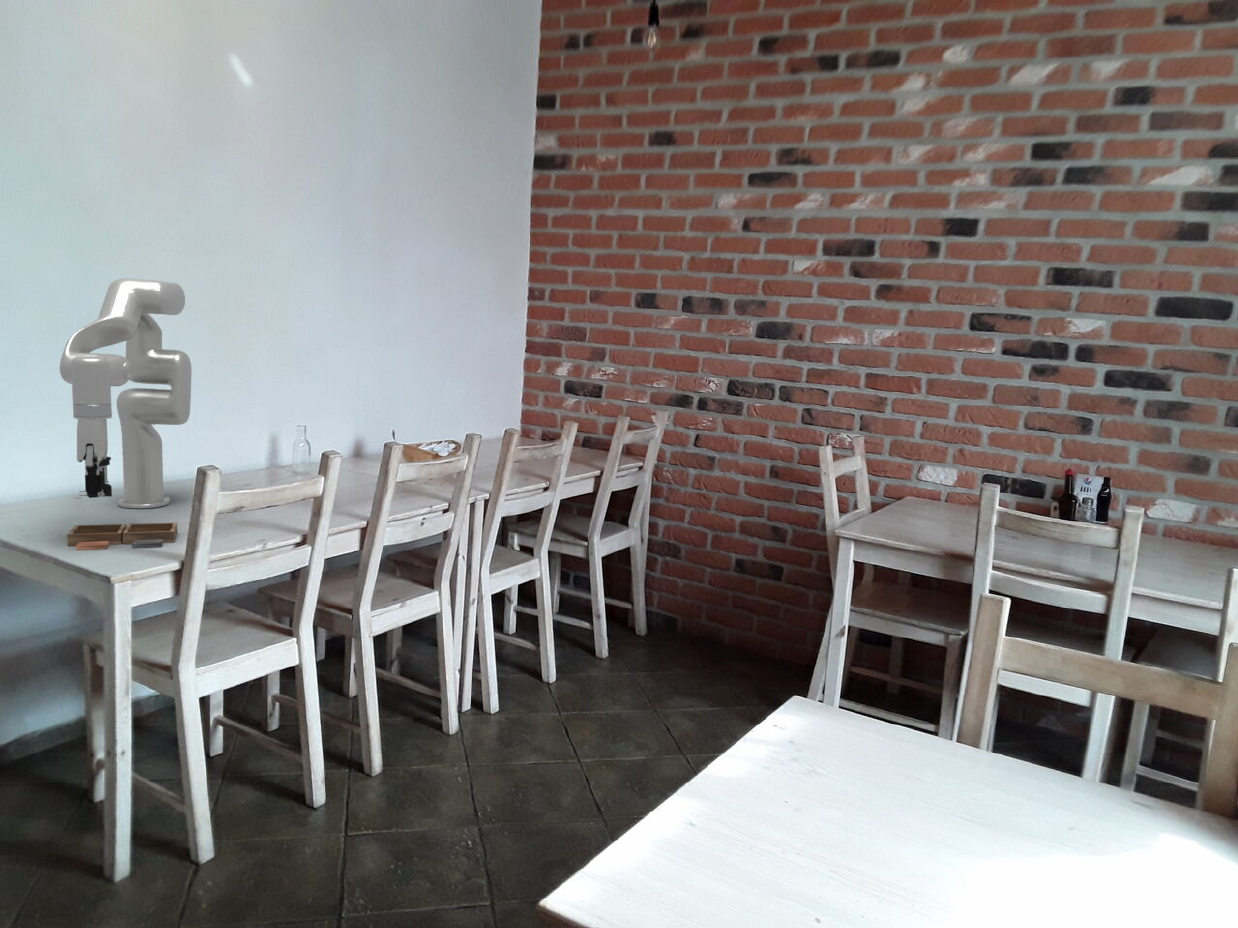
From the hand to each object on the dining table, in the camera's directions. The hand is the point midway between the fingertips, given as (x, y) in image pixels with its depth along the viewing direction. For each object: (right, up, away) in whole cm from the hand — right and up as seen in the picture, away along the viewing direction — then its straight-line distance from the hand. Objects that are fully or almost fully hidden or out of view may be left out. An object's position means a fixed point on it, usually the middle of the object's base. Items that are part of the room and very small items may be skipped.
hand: (95, 489), depth 202 cm
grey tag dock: (+10, -12, +5) cm, 16 cm away
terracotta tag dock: (0, -12, +1) cm, 12 cm away
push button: (0, -2, 0) cm, 2 cm away
